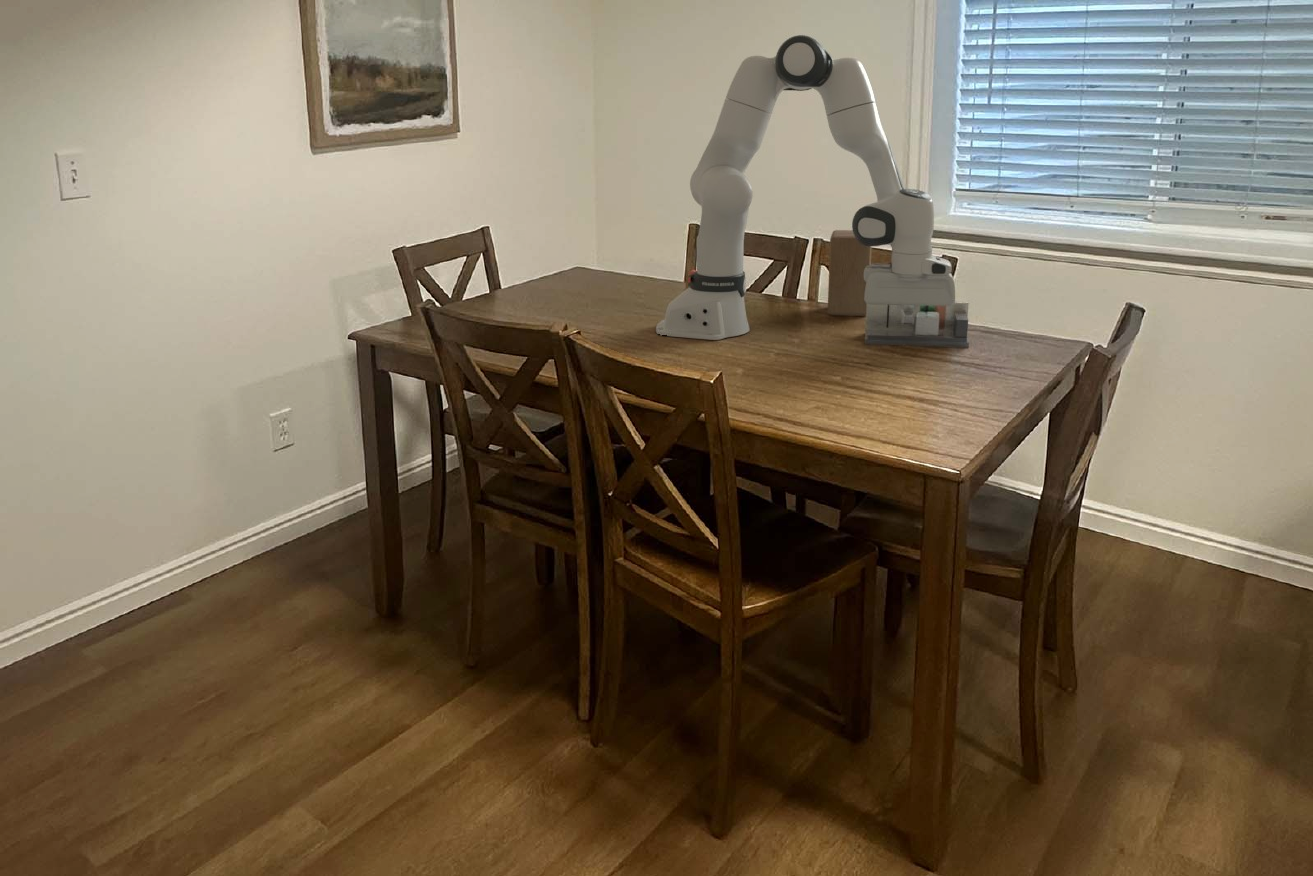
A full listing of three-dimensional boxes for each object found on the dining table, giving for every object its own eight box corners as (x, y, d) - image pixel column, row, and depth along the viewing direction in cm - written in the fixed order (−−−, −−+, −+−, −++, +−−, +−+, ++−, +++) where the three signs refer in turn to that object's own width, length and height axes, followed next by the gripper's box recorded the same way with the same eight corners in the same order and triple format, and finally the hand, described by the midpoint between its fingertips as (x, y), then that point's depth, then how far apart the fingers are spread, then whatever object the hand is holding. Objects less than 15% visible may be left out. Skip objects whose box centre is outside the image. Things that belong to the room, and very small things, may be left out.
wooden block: (867, 317, 280) (871, 237, 273) (827, 316, 282) (830, 236, 275) (868, 307, 290) (872, 229, 283) (829, 306, 291) (832, 229, 284)
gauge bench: (864, 344, 257) (866, 309, 254) (865, 333, 266) (866, 299, 263) (968, 347, 253) (971, 311, 250) (965, 335, 262) (968, 301, 259)
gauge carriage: (915, 338, 255) (917, 310, 253) (914, 330, 261) (916, 303, 259) (937, 338, 254) (939, 310, 252) (936, 331, 261) (938, 304, 258)
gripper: (863, 265, 251) (861, 325, 256) (958, 267, 248) (953, 328, 252) (864, 260, 257) (861, 319, 262) (956, 261, 253) (952, 321, 258)
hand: (907, 323), depth 257 cm, fingers closed
